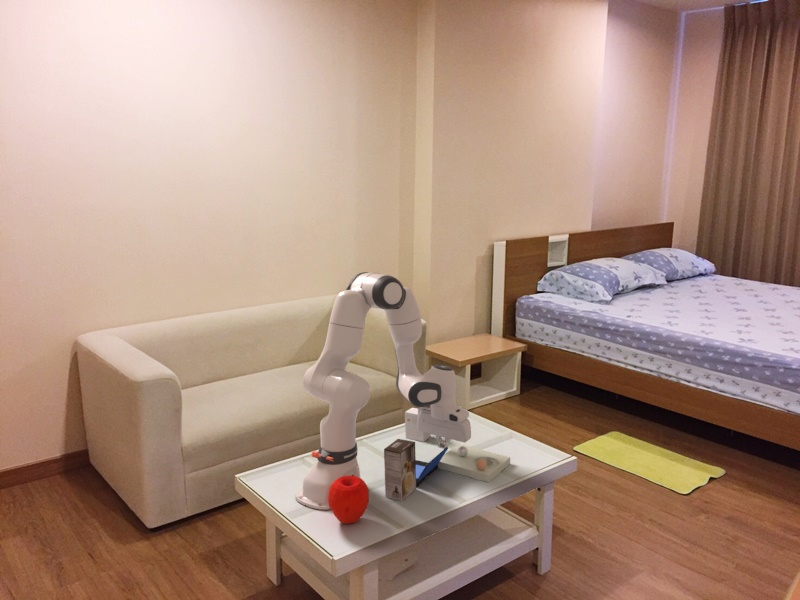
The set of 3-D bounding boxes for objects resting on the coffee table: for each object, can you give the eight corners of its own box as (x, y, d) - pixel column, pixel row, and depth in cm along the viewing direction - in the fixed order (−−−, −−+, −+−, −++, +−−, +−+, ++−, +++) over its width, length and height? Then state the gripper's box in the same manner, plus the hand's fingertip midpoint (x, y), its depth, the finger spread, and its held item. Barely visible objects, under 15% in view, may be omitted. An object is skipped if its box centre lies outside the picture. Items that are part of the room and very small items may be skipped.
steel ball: (464, 459, 218) (464, 449, 217) (455, 456, 220) (455, 447, 219) (469, 455, 221) (469, 445, 220) (460, 453, 223) (460, 443, 222)
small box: (430, 437, 243) (430, 410, 241) (423, 442, 238) (423, 415, 236) (412, 432, 247) (412, 406, 245) (405, 437, 242) (404, 411, 240)
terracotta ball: (483, 472, 208) (483, 462, 207) (474, 470, 210) (474, 460, 209) (488, 468, 211) (488, 458, 210) (479, 466, 213) (479, 456, 212)
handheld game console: (414, 463, 222) (414, 438, 220) (449, 471, 215) (449, 445, 213) (391, 482, 208) (391, 455, 207) (428, 491, 202) (427, 464, 200)
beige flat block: (488, 482, 206) (488, 475, 206) (435, 467, 218) (435, 460, 217) (510, 463, 219) (510, 457, 219) (459, 450, 230) (459, 444, 230)
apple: (341, 537, 177) (340, 492, 174) (321, 519, 186) (319, 476, 183) (377, 523, 183) (376, 480, 181) (355, 506, 193) (354, 465, 190)
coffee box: (399, 484, 206) (398, 437, 203) (416, 488, 203) (416, 441, 200) (384, 497, 198) (383, 448, 195) (402, 501, 195) (401, 452, 192)
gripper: (413, 407, 225) (413, 444, 228) (464, 419, 214) (464, 457, 216) (422, 402, 230) (423, 438, 233) (473, 413, 219) (473, 451, 221)
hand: (443, 447), depth 224 cm, fingers closed
